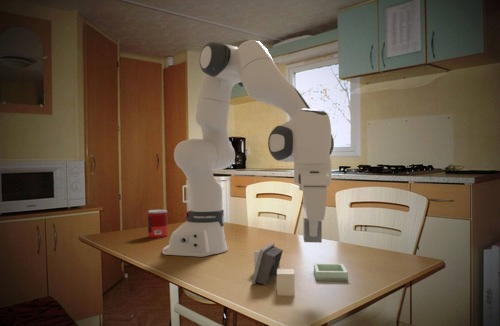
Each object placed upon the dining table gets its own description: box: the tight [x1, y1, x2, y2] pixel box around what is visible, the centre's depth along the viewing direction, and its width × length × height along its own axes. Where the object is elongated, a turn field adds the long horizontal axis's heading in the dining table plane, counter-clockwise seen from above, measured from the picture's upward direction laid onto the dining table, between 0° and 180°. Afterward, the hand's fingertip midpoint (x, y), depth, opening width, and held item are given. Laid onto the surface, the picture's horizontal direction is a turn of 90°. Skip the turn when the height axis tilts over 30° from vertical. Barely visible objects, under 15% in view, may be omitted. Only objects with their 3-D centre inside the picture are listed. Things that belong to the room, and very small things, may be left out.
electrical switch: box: [251, 242, 284, 286], centre depth 97 cm, size 9×5×9 cm, turn 158°
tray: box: [313, 263, 349, 282], centre depth 100 cm, size 8×8×2 cm
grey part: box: [302, 217, 323, 243], centre depth 90 cm, size 4×4×5 cm
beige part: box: [276, 268, 296, 297], centre depth 88 cm, size 4×4×5 cm
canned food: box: [147, 209, 168, 239], centre depth 157 cm, size 8×8×11 cm
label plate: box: [253, 250, 281, 269], centre depth 104 cm, size 7×1×6 cm, turn 85°
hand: (312, 233), depth 90 cm, fingers closed on grey part, 4 cm apart
